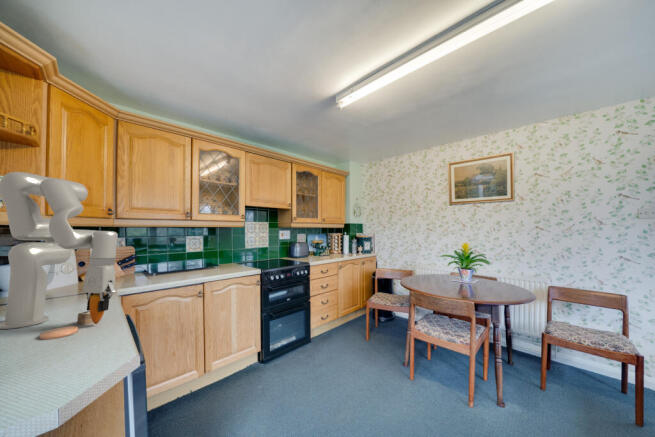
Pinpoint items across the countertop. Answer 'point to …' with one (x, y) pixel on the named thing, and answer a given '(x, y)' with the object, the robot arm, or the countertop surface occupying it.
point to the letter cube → (84, 318)
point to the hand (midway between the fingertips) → (97, 309)
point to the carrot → (95, 308)
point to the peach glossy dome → (58, 332)
